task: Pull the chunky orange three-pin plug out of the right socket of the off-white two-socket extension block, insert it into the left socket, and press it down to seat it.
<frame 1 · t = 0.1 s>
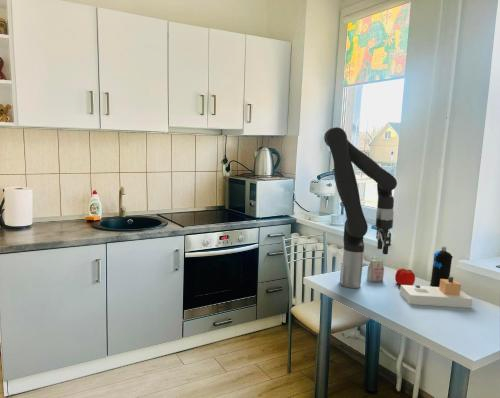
hand: (382, 251, 184), 17 cm above the table, tool pointing down, fingers open, 8 cm apart
plug: (448, 296, 172), point 2 cm above the table, touching extension block
small beige carton: (374, 280, 195), on the table
extension block: (434, 300, 173), on the table
tomato: (403, 284, 191), on the table
aerosol can: (439, 287, 190), on the table
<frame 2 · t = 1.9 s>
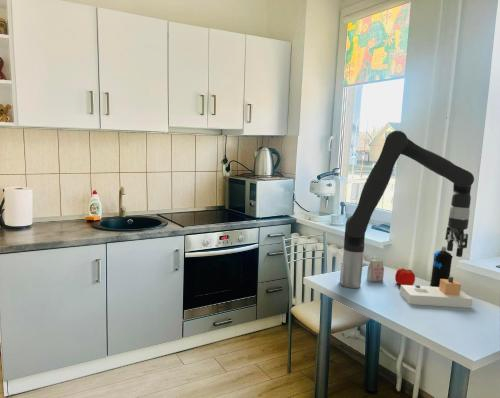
hand: (454, 253, 169), 22 cm above the table, tool pointing down, fingers open, 8 cm apart
nothing on the table moved.
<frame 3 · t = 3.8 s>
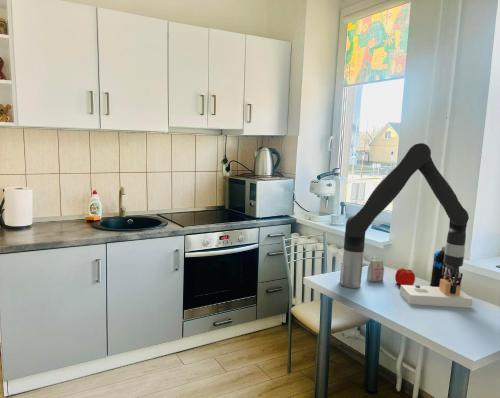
hand: (449, 290, 172), 5 cm above the table, tool pointing down, fingers closed on plug, 5 cm apart
plug: (448, 296, 172), point 2 cm above the table, touching extension block, gripper
everything else where it was.
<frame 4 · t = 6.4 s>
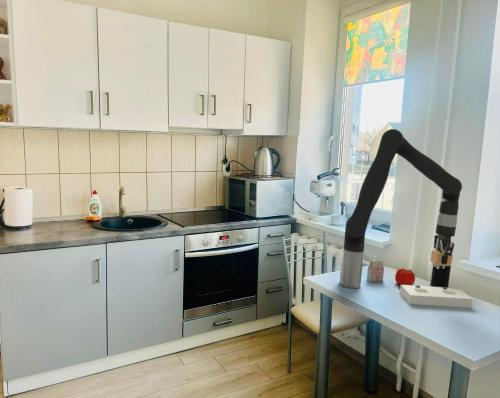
hand: (440, 261, 170), 18 cm above the table, tool pointing down, fingers closed on plug, 5 cm apart
plug: (439, 267, 171), point 15 cm above the table, touching gripper
everything else where it was.
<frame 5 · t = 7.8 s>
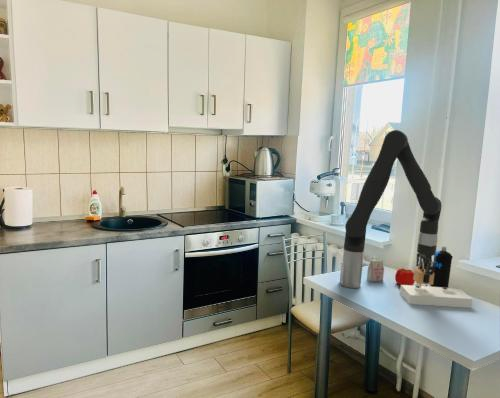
hand: (423, 280, 172), 9 cm above the table, tool pointing down, fingers closed on plug, 5 cm apart
plug: (422, 286, 172), point 6 cm above the table, touching gripper
everything else where it was.
when the fingers open (6 cm above the table, at t = 8.9 s): plug stays where it is, resting on extension block.
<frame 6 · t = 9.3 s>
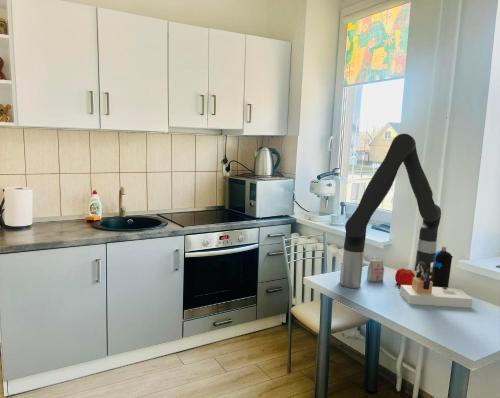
hand: (422, 285, 172), 6 cm above the table, tool pointing down, fingers open, 8 cm apart
plug: (420, 295, 173), point 2 cm above the table, touching extension block
everything else where it was.
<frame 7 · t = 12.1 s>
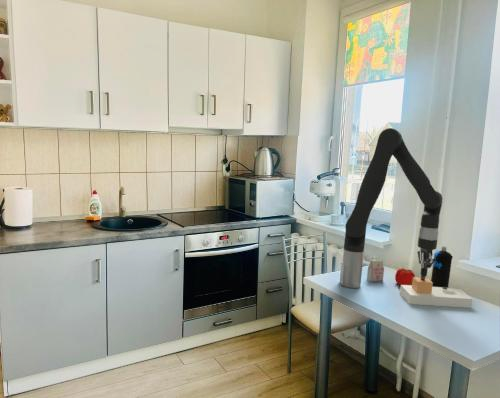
hand: (423, 275, 171), 11 cm above the table, tool pointing down, fingers closed
plug: (420, 295, 173), point 2 cm above the table, touching extension block, gripper
everything else where it was.
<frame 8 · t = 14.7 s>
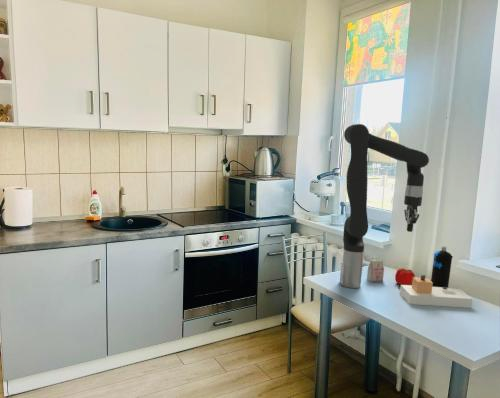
hand: (409, 231, 185), 27 cm above the table, tool pointing down, fingers closed
plug: (420, 295, 173), point 2 cm above the table, touching extension block
everything else where it was.
at the end: plug 0.1 cm from the target spot on the extension block, point 2.0 cm above the extension block's base; plug tilted 0°; the gripper is holding nothing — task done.
